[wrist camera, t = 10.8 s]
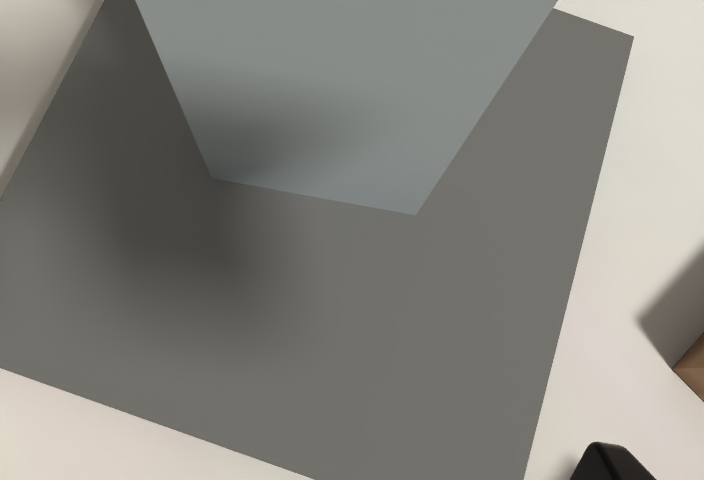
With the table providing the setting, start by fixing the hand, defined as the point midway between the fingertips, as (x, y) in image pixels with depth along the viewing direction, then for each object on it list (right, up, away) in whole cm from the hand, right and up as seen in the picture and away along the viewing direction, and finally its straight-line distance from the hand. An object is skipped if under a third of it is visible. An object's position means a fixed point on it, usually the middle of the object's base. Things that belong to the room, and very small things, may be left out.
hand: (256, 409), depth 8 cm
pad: (0, +4, +10) cm, 11 cm away
